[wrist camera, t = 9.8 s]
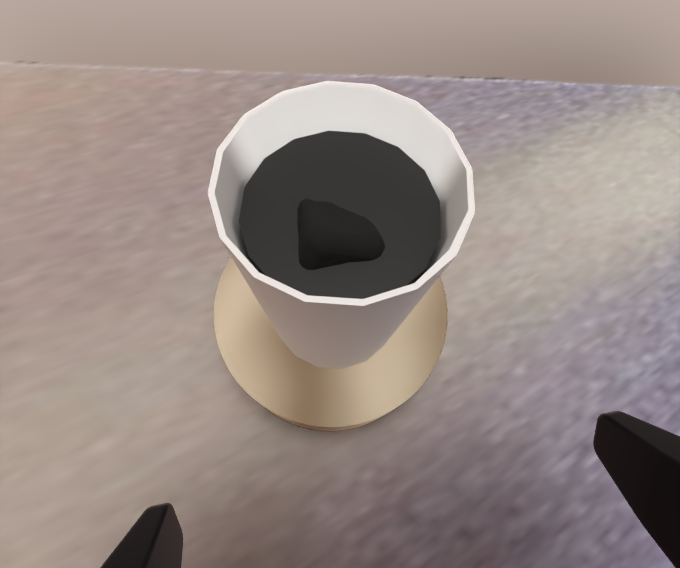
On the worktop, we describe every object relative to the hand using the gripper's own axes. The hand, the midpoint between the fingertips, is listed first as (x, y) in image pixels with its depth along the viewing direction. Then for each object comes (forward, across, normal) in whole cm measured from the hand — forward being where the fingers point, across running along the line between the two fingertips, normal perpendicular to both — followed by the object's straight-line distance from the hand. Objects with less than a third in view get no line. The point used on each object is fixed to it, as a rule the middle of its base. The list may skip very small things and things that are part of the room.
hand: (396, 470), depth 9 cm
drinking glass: (+12, 0, +2) cm, 12 cm away
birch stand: (+14, 0, +4) cm, 15 cm away
